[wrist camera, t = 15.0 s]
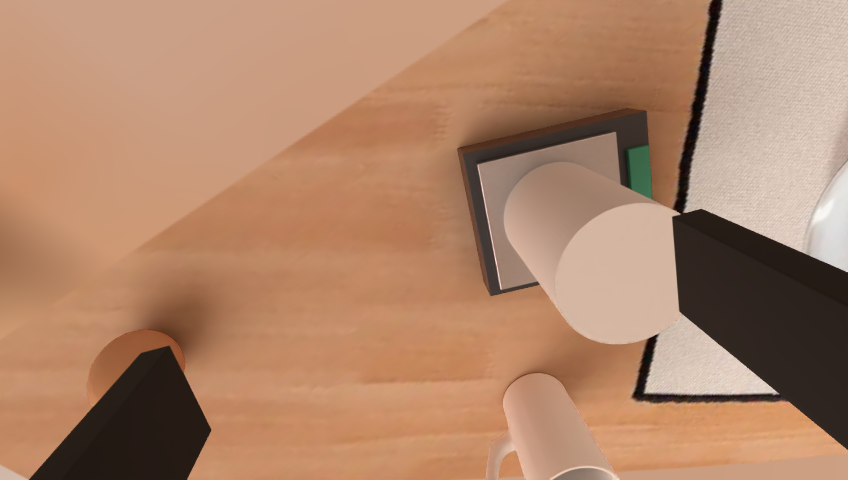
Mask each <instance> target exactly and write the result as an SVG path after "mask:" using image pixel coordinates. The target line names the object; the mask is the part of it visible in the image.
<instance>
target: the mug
mask: <svg viewBox="0 0 848 480" xmlns="http://www.w3.org/2000/svg"><path fill="white" fill-rule="evenodd" d="M503 408H504V412H505V415H506V419H507V422H508V430H507V432H506V433H505V434H503V435H502V436H500V437H499V438H497V439H494V440H493V441H491V443H490V448H489V455H488V462H487V470H486V480H499V467H500V464H501V462H502V460H503V458H504V457H505V456H506V455H507V454H508V453H510V452H512V451H515V450H516V451H517V454H518V458H519V461H520V464H521V467H522V471H523V474H524V477H525V480H620V479H619V477H617V475H616V473H615V472H614V470H613V468H612V466H611V464H610V463H609V461H608V459H607V458H606V456H605V454H604V453H603V451H602V449H601V448H600V446H599V444H598V443H597V441H596V440H595V438H594V436H593V435H592V433H591V431H590V430H589V428H588V426H587V425H586V423H585V421H584V420H583V418H582V416H581V415H580V413H579V411H578V410H577V408H576V406H575V404H574V403H573V401H572V400H571V398H570V396H569V395H568V393H567V391H566V390H565V388H564V386H563V385H562V384H561V382H560V381H559V380H557V379H556V378H555V377H553V376H551V375H548V374H544V373H532V374H528V375H525V376H522V377H520V378H519V379H517V380H516V381H514V382H513V383H512V384H511V385H510V386H509V387H508V389H507V391H506V392H505V395H504V398H503Z"/></svg>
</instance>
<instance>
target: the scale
mask: <svg viewBox="0 0 848 480" xmlns="http://www.w3.org/2000/svg"><path fill="white" fill-rule="evenodd" d="M608 131H614V132H616V138H617V150H618V161H619V173H620V184H621V185H622V186H624V187H627V188H629V189H631V190H633V191H635V192H637V193H639V194H641V195H643V196H645V197H647V198H649V199H651V200H653V198H652V183H651V168H650V153H649V143H648V128H647V113H646V111H643V110H636V109H629V108H627V109H622V110H618V111H614V112H610V113H605V114H601V115H597V116H593V117H588V118H584V119H580V120H576V121H571V122H567V123H563V124H559V125H555V126H550V127H546V128H542V129H538V130H533V131H529V132H525V133H521V134H516V135H512V136H508V137H504V138H500V139H495V140H491V141H487V142H483V143H478V144H474V145H470V146H466V147H461V148H458V149H457V150H458V155H459V160H460V165H461V170H462V175H463V180H464V185H465V190H466V195H467V200H468V205H469V210H470V215H471V220H472V225H473V230H474V235H475V240H476V245H477V250H478V255H479V260H480V265H481V270H482V275H483V280H484V283H485V285H486V287H487V290H488V292H489V294H490V296H493V295H498V294H502V293H506V292H511V291H515V290H519V289H523V288H528V287H532V286H536V285H540V284H539V282H538V281H537V282H533V283H529V284H524V285H520V286H516V287H512V288H507V289H503V290H501V289H500V287H499V284H498V279H497V274H496V269H495V263H494V258H493V253H492V247H491V242H490V237H489V231H488V226H487V221H486V215H485V210H484V205H483V200H482V194H481V189H480V184H479V178H478V173H477V168H476V163H477V162H481V161H485V160H489V159H493V158H498V157H502V156H506V155H510V154H515V153H519V152H523V151H527V150H531V149H536V148H540V147H544V146H548V145H553V144H557V143H561V142H565V141H570V140H574V139H578V138H582V137H587V136H591V135H595V134H599V133H604V132H608Z"/></svg>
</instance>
